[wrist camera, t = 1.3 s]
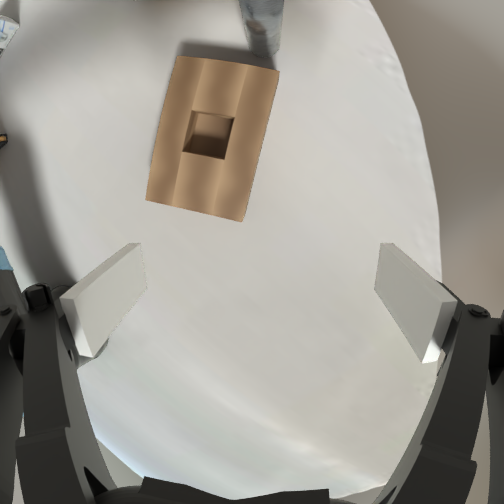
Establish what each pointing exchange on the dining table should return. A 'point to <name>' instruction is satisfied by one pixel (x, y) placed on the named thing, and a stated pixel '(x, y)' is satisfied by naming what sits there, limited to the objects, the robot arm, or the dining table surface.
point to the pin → (262, 25)
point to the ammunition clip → (3, 140)
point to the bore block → (211, 136)
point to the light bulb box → (6, 31)
